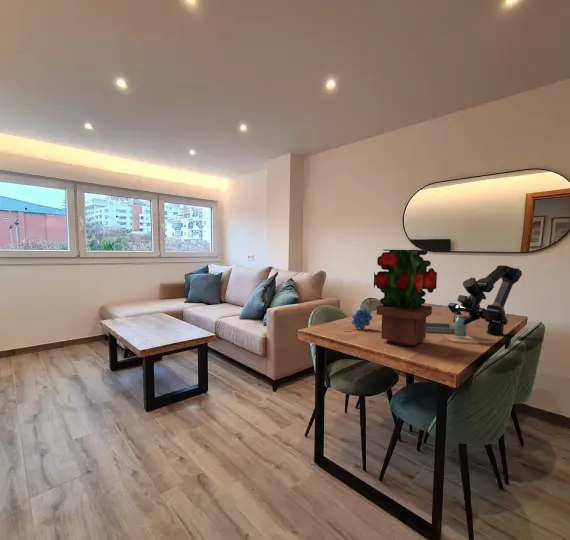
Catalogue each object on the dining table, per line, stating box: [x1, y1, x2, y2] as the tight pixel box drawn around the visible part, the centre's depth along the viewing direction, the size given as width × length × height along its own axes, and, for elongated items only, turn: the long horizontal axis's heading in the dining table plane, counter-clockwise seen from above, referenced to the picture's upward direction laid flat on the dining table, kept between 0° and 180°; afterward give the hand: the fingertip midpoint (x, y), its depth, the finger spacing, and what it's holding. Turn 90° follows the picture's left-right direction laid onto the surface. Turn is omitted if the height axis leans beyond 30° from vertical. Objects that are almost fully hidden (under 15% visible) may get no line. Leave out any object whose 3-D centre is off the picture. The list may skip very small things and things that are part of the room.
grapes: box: [351, 307, 373, 330], centre depth 170 cm, size 12×7×12 cm, turn 93°
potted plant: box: [373, 248, 438, 348], centre depth 144 cm, size 22×22×45 cm
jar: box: [453, 314, 468, 337], centre depth 150 cm, size 5×5×10 cm
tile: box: [442, 333, 480, 345], centre depth 150 cm, size 12×12×1 cm
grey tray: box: [426, 322, 455, 335], centre depth 166 cm, size 18×12×4 cm, turn 83°
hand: (459, 323), depth 149 cm, fingers closed on jar, 5 cm apart
